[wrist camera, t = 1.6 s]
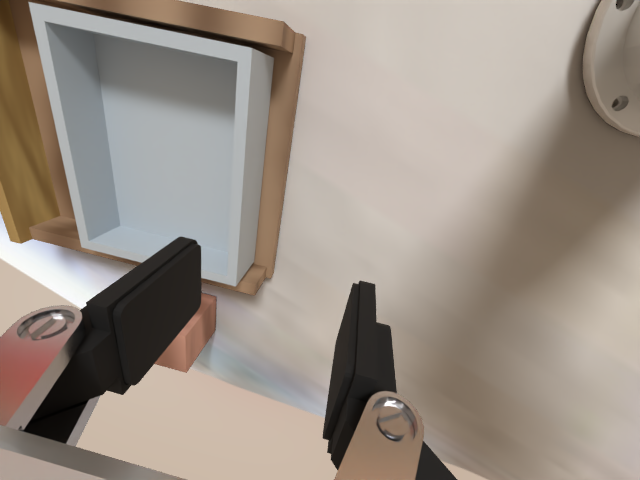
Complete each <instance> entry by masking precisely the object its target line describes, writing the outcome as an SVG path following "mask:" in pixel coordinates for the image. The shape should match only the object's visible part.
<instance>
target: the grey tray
mask: <svg viewBox="0 0 640 480" xmlns="http://www.w3.org/2000/svg"><path fill="white" fill-rule="evenodd" d="M29 7H30V12H31V16H32V21H33V26H34V30H35V35H36V39H37V44H38V49H39V53H40V58H41V62H42V67H43V72H44V76H45V81H46V86H47V90H48V95H49V99H50V104H51V109H52V113H53V118H54V122H55V127H56V132H57V136H58V141H59V146H60V150H61V155H62V159H63V164H64V169H65V173H66V178H67V182H68V187H69V192H70V196H71V201H72V206H73V210H74V215H75V219H76V224H77V229H78V233H79V238H80V242H81V247H82V248H86V249H90V250H94V251H98V252H102V253H106V254H110V255H113V256H117V257H121V258H125V259H129V260H133V261H137V262H141V263H143V262H144V261H145V260H147V259H148V258H150V257H151V256H152V255H154V254H155V253H157V252H158V251H159V250H161V249H162V248H164V247H165V246H167V245H168V244H169V243H171V242H172V241H174V240H175V239H176V238H178V237H186V238H190V239H194V240H196V241H197V243H198V245H200V246H201V278H204V279H208V280H212V281H216V282H220V283H224V284H228V285H232V286H237V284H238V283H239V282H240V280H241V279H242V277H243V276H244V275H245V273H246V272H247V271H248V269H249V268H250V266H251V265H252V264H253V262H254V258H255V248H256V238H257V228H258V218H259V207H260V197H261V187H262V177H263V167H264V157H265V146H266V136H267V126H268V116H269V106H270V95H271V85H272V75H273V65H274V58H273V57H271V56H269V55H266V54H264V53H262V52H260V51H258V50H255V49H253V48H250V47H245V46H240V45H235V44H231V43H226V42H221V41H216V40H211V39H206V38H201V37H197V36H192V35H187V34H182V33H177V32H172V31H167V30H163V29H158V28H153V27H148V26H143V25H138V24H134V23H129V22H124V21H119V20H114V19H109V18H104V17H100V16H95V15H90V14H85V13H80V12H75V11H71V10H66V9H61V8H56V7H51V6H46V5H41V4H37V3H32V2H29Z"/></svg>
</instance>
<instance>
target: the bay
mask: <svg viewBox="0 0 640 480" xmlns="http://www.w3.org/2000/svg"><path fill="white" fill-rule="evenodd" d="M29 2H32V3H37V4H41V5H46V6H51V7H56V8H61V9H66V10H71V11H75V12H80V13H85V14H90V15H95V16H100V17H104V18H109V19H114V20H119V21H124V22H129V23H134V24H138V25H143V26H148V27H153V28H158V29H163V30H167V31H172V32H177V33H182V34H187V35H192V36H197V37H201V38H206V39H211V40H216V41H221V42H226V43H231V44H235V45H240V46H245V47H250V48H253V49H255V50H258V51H260V52H262V53H264V54H266V55H269V56H271V57H273V58H274V65H273V75H272V85H271V95H270V106H269V116H268V126H267V136H266V146H265V157H264V167H263V177H262V187H261V197H260V207H259V218H258V228H257V238H256V248H255V258H254V262H253V264H252V265H251V266H250V268H249V269H248V271H247V272H246V273H245V275H244V276H243V277H242V279H241V280H240V282H239V283H238V284H237V286H232V285H228V284H224V283H220V282H216V281H212V280H208V279H204V278H201V282H204V283H207V284H211V285H215V286H219V287H223V288H227V289H231V290H235V291H239V292H243V293H247V294H251V295H255V294H256V293H257V291H258V289H259V288H260V286H261V284H262V282H263V281H264V279H265V277H267V278H271V277H272V275H273V273H274V266H275V259H276V252H277V244H278V237H279V230H280V222H281V215H282V208H283V201H284V193H285V186H286V179H287V171H288V164H289V157H290V149H291V142H292V135H293V128H294V120H295V113H296V106H297V98H298V91H299V84H300V77H301V69H302V62H303V55H304V47H305V40H306V37H305V36H304V35H303V34H299V33H295V32H294V31H293V30H292V29H291V28H290V27H289V26H288V25H287V24H286V23H285V22H283V21H278V20H273V19H268V18H263V17H258V16H253V15H248V14H243V13H238V12H233V11H228V10H223V9H218V8H213V7H208V6H203V5H198V4H193V3H188V2H183V1H178V0H0V211H1V214H2V217H3V220H4V223H5V226H6V229H7V232H8V235H9V238H10V241H12V242H16V243H20V244H21V243H24V242H26V241H29V240H31V239H35V240H39V241H42V242H46V243H50V244H54V245H58V246H62V247H66V248H70V249H74V250H78V251H82V252H86V253H90V254H94V255H97V256H101V257H105V258H109V259H113V260H117V261H121V262H125V263H129V264H133V265H137V266H138V265H140V264H141V262H137V261H133V260H129V259H125V258H121V257H117V256H113V255H110V254H106V253H102V252H98V251H94V250H90V249H86V248H82V247H81V242H80V238H79V233H78V229H77V224H76V219H75V215H74V210H73V206H72V201H71V196H70V192H69V187H68V182H67V178H66V173H65V169H64V164H63V159H62V155H61V150H60V146H59V141H58V136H57V132H56V127H55V122H54V118H53V113H52V109H51V104H50V99H49V95H48V90H47V86H46V81H45V76H44V72H43V67H42V62H41V58H40V53H39V49H38V44H37V39H36V35H35V30H34V26H33V21H32V16H31V12H30V7H29Z"/></svg>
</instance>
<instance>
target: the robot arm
mask: <svg viewBox="0 0 640 480" xmlns="http://www.w3.org/2000/svg"><path fill="white" fill-rule="evenodd" d="M616 2H617V4H618V5H617V8H616ZM583 80H584V85H585V89H586V94H587V96H588V98H589V100H590V102H591V104H592V106H593V108H594V110H595V111H596V112H597V113H598V114H599V115H600V116H601V118H602V119H603V120H604V121H605V122H606V123H608V124H610V125H611V126H613V127H614V128H616V129H618V130H619V131H622V132H625V133H628V134H631V135H634V136H638V137H640V0H601V2H600V4H599V6H598V8H597V9H596V12H595V15H594V17H593V20H592V23H591V25H590V28H589V31H588V34H587V38H586V43H585V48H584V53H583ZM612 103H613V104H612ZM86 304H87V306H85V307H84V308H83V309H81V310H79V309H77V308H75V307H72V306H64V305H61V306H51V307H47V308H42V309H39V310H36V311H34V312H31V313H29V314H27V315H25V316H23V317H21V318H20V319H19V320H18V321H17V322H15V323H14V324H13V325H12V326H11V327H10V328H9V329H8V330H7V331H6V332H5V333H4V334H3V335H2V336H1V337H0V480H186V479H182V478H179V477H176V476H172V475H169V474H165V473H162V472H159V471H156V470H152V469H149V468H145V467H142V466H139V465H135V464H131V463H128V462H125V461H122V460H118V459H115V458H112V457H108V456H105V455H101V454H98V453H95V452H91V451H88V450H84V449H81V448H77V447H75V446H76V444H77V442H78V440H79V438H80V436H81V434H82V432H83V430H84V428H85V426H86V424H87V422H88V420H89V418H90V416H91V414H92V412H93V410H94V408H95V406H96V404H97V402H98V400H99V397H100V395H103V394H104V393H105V392H106V390H107V391H111V392H114V393H118V394H121V395H123V394H124V393H125V392H126V391H127V390H128V389H129V387H130V386H131V385H136V384H137V383H138V382H139V381H140V380H141V379H142V378H143V377H144V375H145V374H146V373H147V372H148V371H149V369H150V368H151V367H152V366H153V364H154V363H155V362H156V361H157V360H158V358H159V357H160V356H161V355H162V354H163V352H164V351H165V350H166V349H167V347H168V346H169V345H170V344H171V343H172V341H173V340H174V339H175V338H176V337H177V335H178V334H179V333H180V332H181V330H182V329H183V328H184V327H185V326H186V324H187V323H188V322H189V321H190V320H191V318H192V317H193V316H194V315H195V313H196V312H197V311H198V310H199V308H200V305H201V246H200V245H198V243H197V241H196V240H194V239H190V238H186V237H178V238H176V239H175V240H174V241H172V242H171V243H169V244H168V245H167V246H165V247H164V248H162V249H161V250H159V251H158V252H157V253H155V254H154V255H152V256H151V257H150V258H148V259H147V260H145V261H144V262H143V263H141V264H140V265H138V266H137V267H135V268H134V269H133V270H131V271H130V272H128V273H127V274H126V275H124V276H123V277H121V278H120V279H119V280H117V281H116V282H114V283H113V284H112V285H110V286H109V287H107V288H106V289H104V290H103V291H102V292H100V293H99V294H97V295H96V296H95V297H93V298H92V299H90V300H89V301H88V302H86ZM423 437H424V425H423V422H422V418H421V416H420V415H419V413H418V411H417V409H416V408H415V407H414V406H413V405H412V404H411V403H410V401H408V400H407V399H405V398H404V397H403V396H401V395H399V394H397V391H396V380H395V369H394V359H393V348H392V337H391V329H390V326H389V325H385V324H381V323H377V322H376V295H375V284H372V283H368V282H364V281H359V284H355V283H353V285H352V288H351V292H350V295H349V299H348V302H347V305H346V309H345V312H344V316H343V319H342V322H341V326H340V329H339V333H338V336H337V340H336V345H335V352H334V359H333V366H332V373H331V380H330V387H329V394H328V401H327V409H326V416H325V423H324V430H323V439H327V440H329V442H328V451H327V453H330V454H331V460H332V462H333V464H334V465H335V467H336V468H337V470H338V472H337V474H336V477H335V479H334V480H457V479H456V478H455V477H454V475H453V474H452V473H451V472H450V471H449V470H448V469H447V468H446V466H445V465H444V464H443V463H442V462H441V461H440V460H439V458H438V457H437V456H436V455H435V454H434V453H433V452H432V450H431V449H430V448H429V447H428V446H427V445H426V444H425V442H424V441H423Z"/></svg>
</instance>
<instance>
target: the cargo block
mask: <svg viewBox="0 0 640 480" xmlns="http://www.w3.org/2000/svg"><path fill="white" fill-rule="evenodd" d="M215 323H216V297H215V296H211V295H207V294H203V293H201V305H200V308H199V310H198V311H197V312H196V313H195V315H194V316H193V317H192V318H191V320H190V321H189V322H188V323H187V324H186V326H185V327H184V328H183V329H182V330H181V332H180V333H179V334H178V335H177V337H176V338H175V339H174V340H173V341H172V343H171V344H170V345H169V346H168V347H167V349H166V350H165V351H164V352H163V354H162V355H161V356H160V357H159V358H158V360H157V361H156V362H155V363H154V364H157V365H160V366H165V367H168V368H172V369H175V370H179V371H182V372H186V373H187V371H188V370H189V368H190V367H191V365H192V364H193V362H194V361H195V360H196V358H197V357H198V355H199V354H200V352H201V351H202V349H203V348H204V346H205V345H206V343H207V342H208V340H209V339H210V337H211V336H212V334H213V333H214V331H215Z"/></svg>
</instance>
